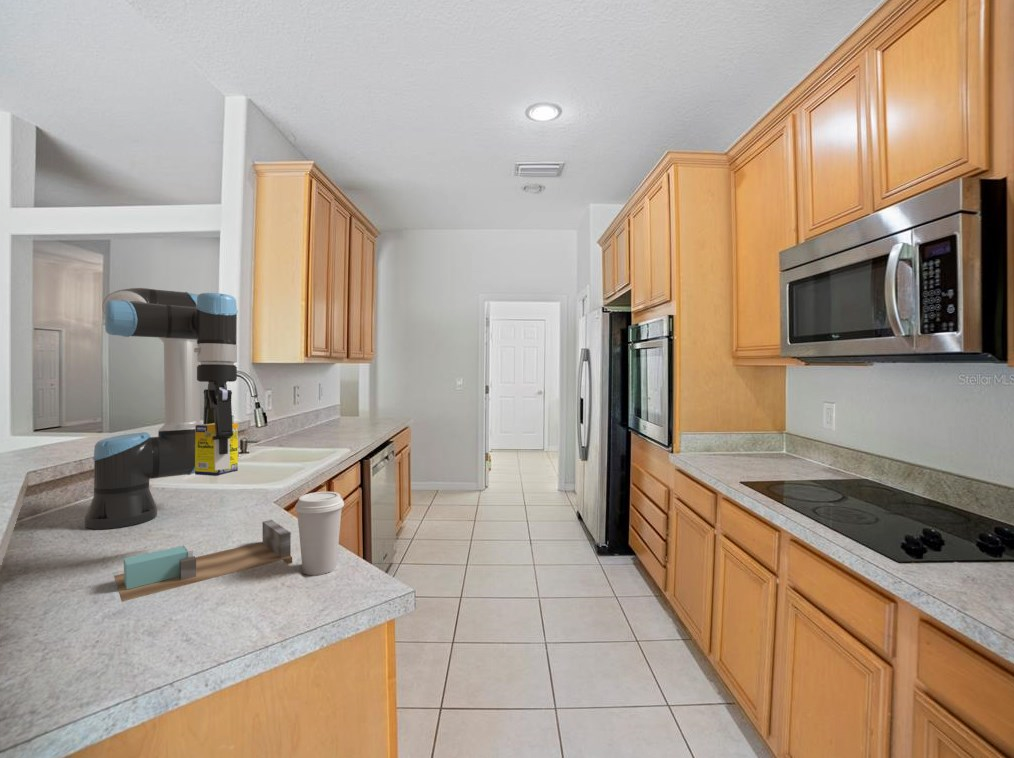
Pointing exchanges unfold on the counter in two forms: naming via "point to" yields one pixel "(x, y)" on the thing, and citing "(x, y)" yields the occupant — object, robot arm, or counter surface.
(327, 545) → the coffee cup
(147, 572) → the teal rectangular block
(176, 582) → the rail base
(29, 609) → the counter surface
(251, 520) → the counter surface
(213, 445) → the supplement box
